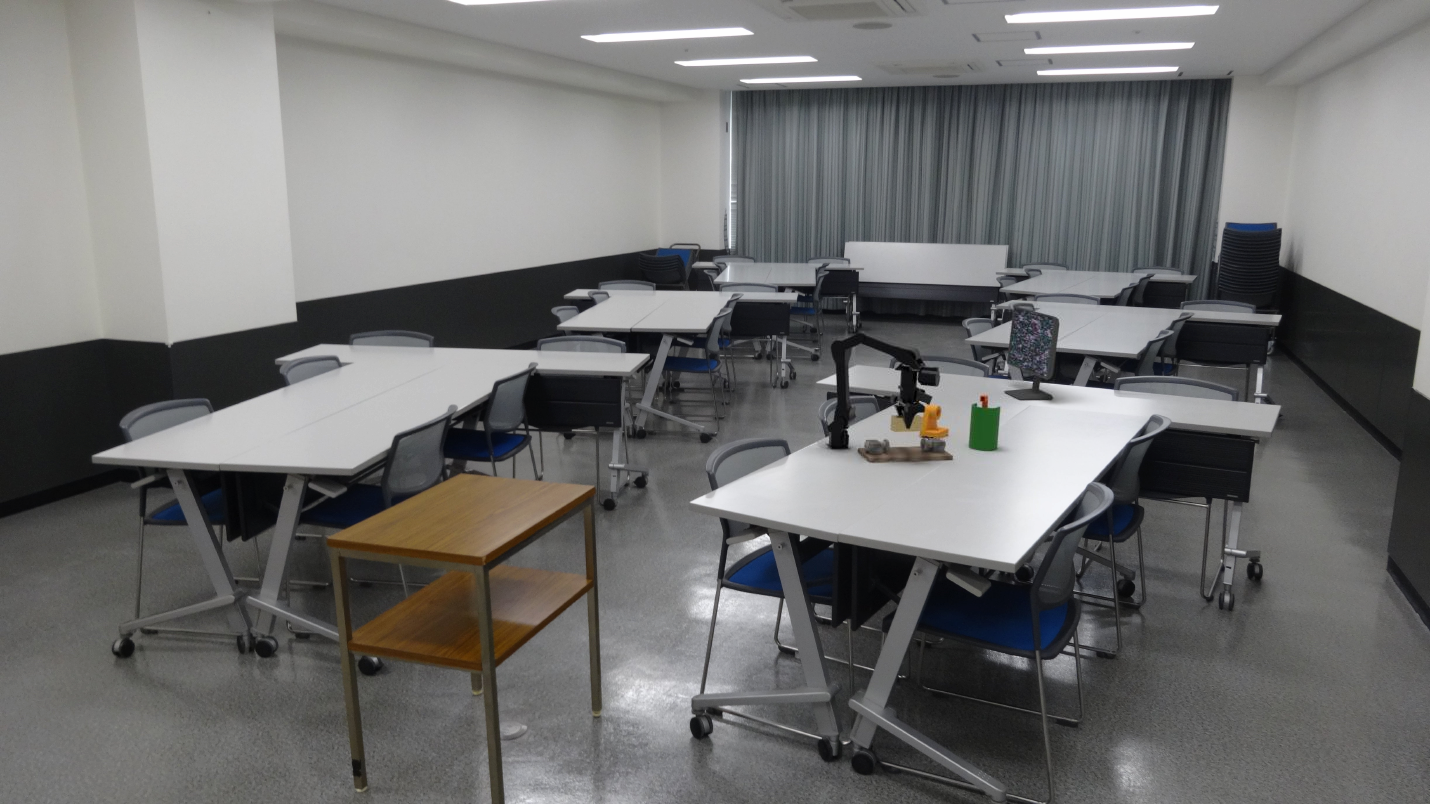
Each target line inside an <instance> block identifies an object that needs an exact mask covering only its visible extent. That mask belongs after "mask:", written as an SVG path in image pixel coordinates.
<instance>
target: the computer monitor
mask: <svg viewBox="0 0 1430 804" xmlns="http://www.w3.org/2000/svg"><path fill="white" fill-rule="evenodd" d="M1012 309H1013V310H1012V317H1011V326H1010V327H1011V328H1010V333H1009V334H1010V335H1009V343H1008V350H1007V351H1008V352H1007V359H1006V364H1007V365H1010V366H1011V367H1015V368H1017V369H1020V370H1022V371H1024V372H1025V373H1026V372H1027V373H1029V374H1031V375H1033V379H1032V385H1031V386H1032V387H1030V388H1021V389H1020V388H1019V389H1008V390H1004V391H1003V392H1004V393H1005V394H1007V395H1009V396H1010V397H1013V398H1015V399H1017V400H1019V401H1051V400H1053V399H1054V396H1053V395H1052V394H1051V393H1049V392H1046V391H1043V390H1042V389H1040V386H1041V385H1040V384H1041V379H1044V380H1046V381H1048V380H1051V378H1052V376H1053V375H1054V370H1055V362H1056V361H1055V360H1056V354H1057V346H1058V339H1059V338H1058V337H1059V333H1060V332H1059V329H1060V319H1059V318H1058V317H1057V316H1054V315H1050V314H1047V313H1042V312H1039V311H1034V310H1031V309H1027V308H1023V307H1019V306H1016V305H1014V306H1013V308H1012Z"/></svg>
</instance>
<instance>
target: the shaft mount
mask: <svg viewBox="0 0 1430 804" xmlns="http://www.w3.org/2000/svg"><path fill="white" fill-rule="evenodd" d="M919 443H920V444H919V445H920V446H919V445H918V446H917V445H916V446H915V445H914V446H891V444H890V441H889V439H887V438H886V439H885V438H884V439H883V440H882V441H880V440H878V439H866V440H865V441H864V443H863V444H864V445H863V446H864V447H858V448H857V453H858V454H859V455H860V454H861V457H863V459H865V458H866V459H867V460H866V461H868V462H869V463H870V462H872V463H890V462H889V461H903V462H926V461H928V462H930V460H934V461H953V460H954V455H953V454H951V453H949V452H948V451H947V450H945V449H946V446H947V442H946V440H945V439H942V438H941V439H940V438H931V437H925V438H923V437H921V439H920V442H919Z"/></svg>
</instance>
